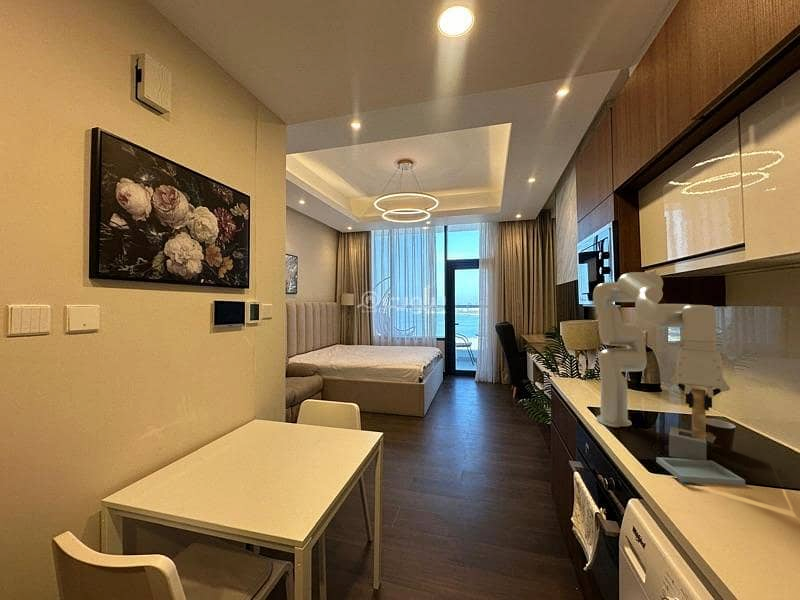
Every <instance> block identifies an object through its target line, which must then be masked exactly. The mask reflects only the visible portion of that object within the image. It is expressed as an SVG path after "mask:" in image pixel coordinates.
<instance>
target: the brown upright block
mask: <svg viewBox="0 0 800 600" xmlns="http://www.w3.org/2000/svg"><path fill="white" fill-rule="evenodd" d="M691 393H692V408H691V423H692V424H691V431H692V436H693V437H696V438H700V439H705V438H706V419H707V417H706V416H707V414H706V410H705V396H706V393H707V390H705V389H702V388H691Z"/></svg>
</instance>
